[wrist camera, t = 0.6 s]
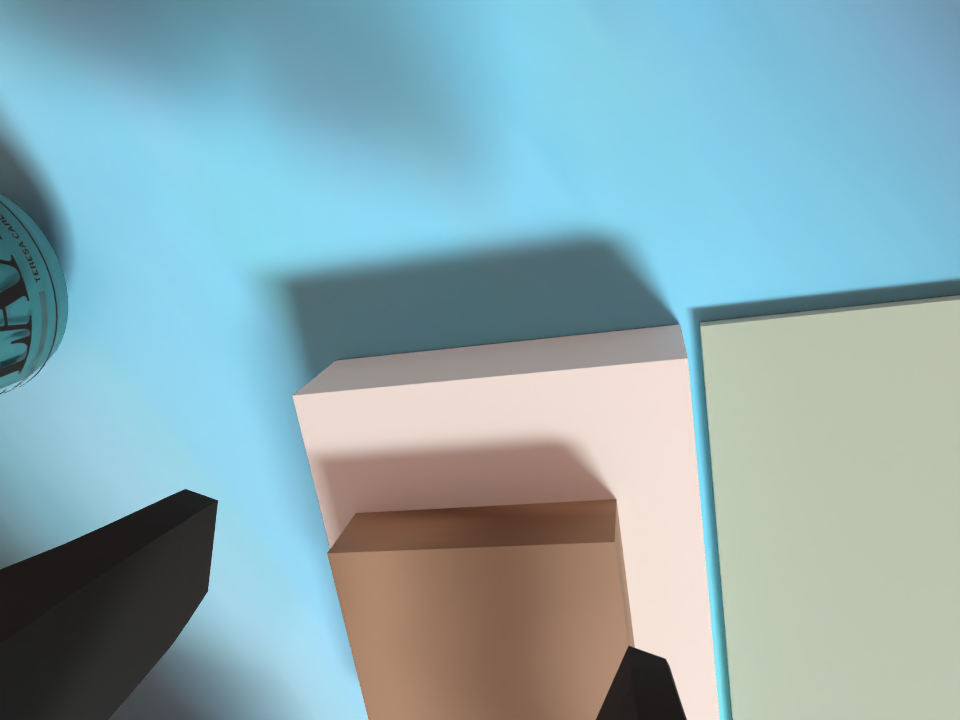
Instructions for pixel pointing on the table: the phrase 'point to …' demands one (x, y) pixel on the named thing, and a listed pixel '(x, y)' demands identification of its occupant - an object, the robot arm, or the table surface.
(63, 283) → the beverage bottle
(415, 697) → the walnut tile
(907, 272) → the table surface
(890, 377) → the mat
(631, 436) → the pale pink flat block
